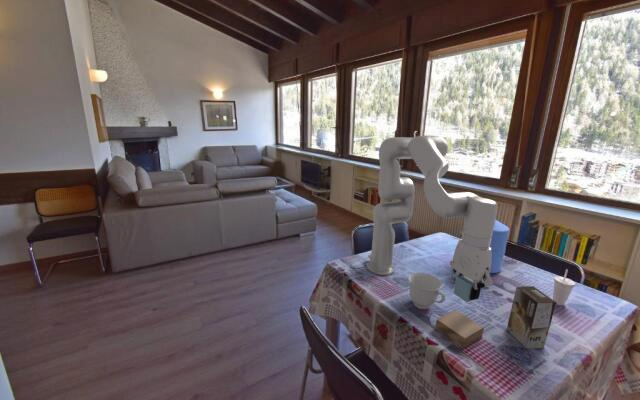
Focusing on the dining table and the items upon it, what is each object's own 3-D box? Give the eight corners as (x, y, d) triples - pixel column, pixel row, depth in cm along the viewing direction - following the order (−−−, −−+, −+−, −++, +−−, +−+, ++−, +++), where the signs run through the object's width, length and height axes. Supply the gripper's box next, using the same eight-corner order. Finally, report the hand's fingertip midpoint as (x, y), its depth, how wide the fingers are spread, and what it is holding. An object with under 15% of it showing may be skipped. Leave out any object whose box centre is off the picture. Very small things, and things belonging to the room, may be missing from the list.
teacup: (428, 323, 98) (432, 297, 96) (398, 299, 111) (400, 276, 109) (452, 314, 104) (457, 289, 101) (421, 292, 117) (424, 270, 114)
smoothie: (564, 299, 115) (574, 268, 112) (572, 309, 110) (582, 276, 106) (545, 296, 117) (554, 264, 114) (551, 305, 112) (561, 272, 108)
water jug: (501, 264, 143) (513, 210, 136) (500, 277, 131) (513, 218, 123) (466, 255, 151) (476, 204, 144) (462, 267, 138) (472, 211, 131)
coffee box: (545, 348, 89) (558, 303, 85) (526, 349, 89) (538, 303, 85) (522, 328, 98) (533, 285, 94) (505, 328, 98) (515, 286, 93)
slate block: (453, 293, 92) (456, 276, 91) (464, 290, 94) (467, 273, 93) (466, 302, 88) (469, 284, 86) (478, 298, 90) (481, 281, 88)
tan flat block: (434, 329, 96) (436, 319, 95) (453, 319, 102) (455, 310, 100) (462, 349, 88) (465, 338, 87) (481, 338, 93) (483, 327, 92)
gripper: (444, 231, 92) (436, 282, 97) (493, 253, 77) (481, 312, 82) (461, 228, 95) (453, 278, 100) (512, 249, 80) (499, 307, 85)
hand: (466, 293), depth 91 cm, fingers closed on slate block, 5 cm apart
